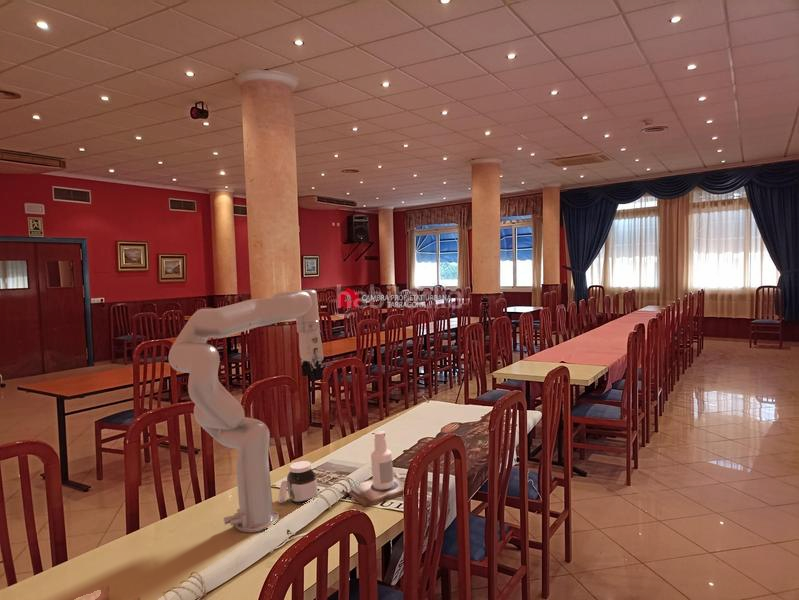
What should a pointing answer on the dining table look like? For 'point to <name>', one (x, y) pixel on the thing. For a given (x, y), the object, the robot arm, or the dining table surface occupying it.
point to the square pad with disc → (375, 492)
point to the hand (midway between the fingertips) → (312, 377)
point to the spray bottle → (382, 463)
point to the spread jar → (299, 483)
